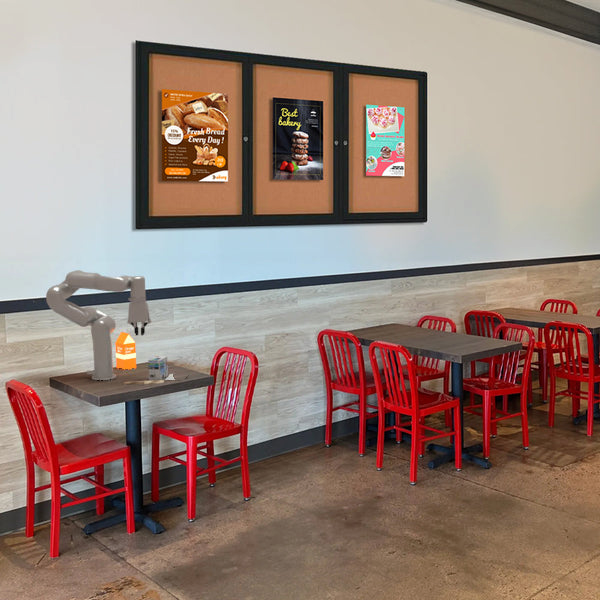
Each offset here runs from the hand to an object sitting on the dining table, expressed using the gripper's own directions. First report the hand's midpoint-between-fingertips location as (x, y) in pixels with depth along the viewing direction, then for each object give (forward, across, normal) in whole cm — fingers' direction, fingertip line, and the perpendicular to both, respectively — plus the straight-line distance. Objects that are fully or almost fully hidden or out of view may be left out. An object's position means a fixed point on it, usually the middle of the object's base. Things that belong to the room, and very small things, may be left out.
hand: (139, 334), depth 395 cm
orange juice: (+23, -15, +25) cm, 37 cm away
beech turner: (+23, +5, -11) cm, 26 cm away
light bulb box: (+23, +9, 0) cm, 25 cm away
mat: (+23, +19, +1) cm, 30 cm away
